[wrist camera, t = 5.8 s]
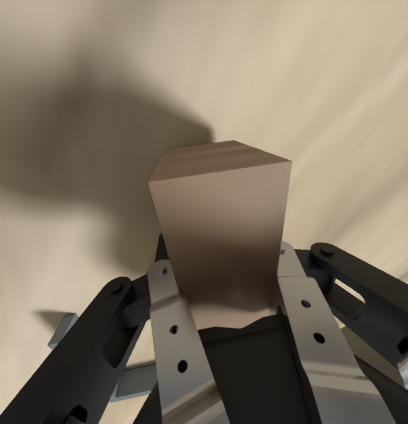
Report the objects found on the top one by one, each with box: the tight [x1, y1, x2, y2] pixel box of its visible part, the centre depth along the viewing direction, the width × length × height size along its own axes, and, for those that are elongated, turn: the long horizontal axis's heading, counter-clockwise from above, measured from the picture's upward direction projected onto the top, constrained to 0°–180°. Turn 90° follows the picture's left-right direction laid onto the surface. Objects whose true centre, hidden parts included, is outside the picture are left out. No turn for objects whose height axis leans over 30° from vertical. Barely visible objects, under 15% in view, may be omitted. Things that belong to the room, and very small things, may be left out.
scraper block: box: [148, 140, 292, 330], centre depth 9 cm, size 8×4×6 cm, turn 7°
